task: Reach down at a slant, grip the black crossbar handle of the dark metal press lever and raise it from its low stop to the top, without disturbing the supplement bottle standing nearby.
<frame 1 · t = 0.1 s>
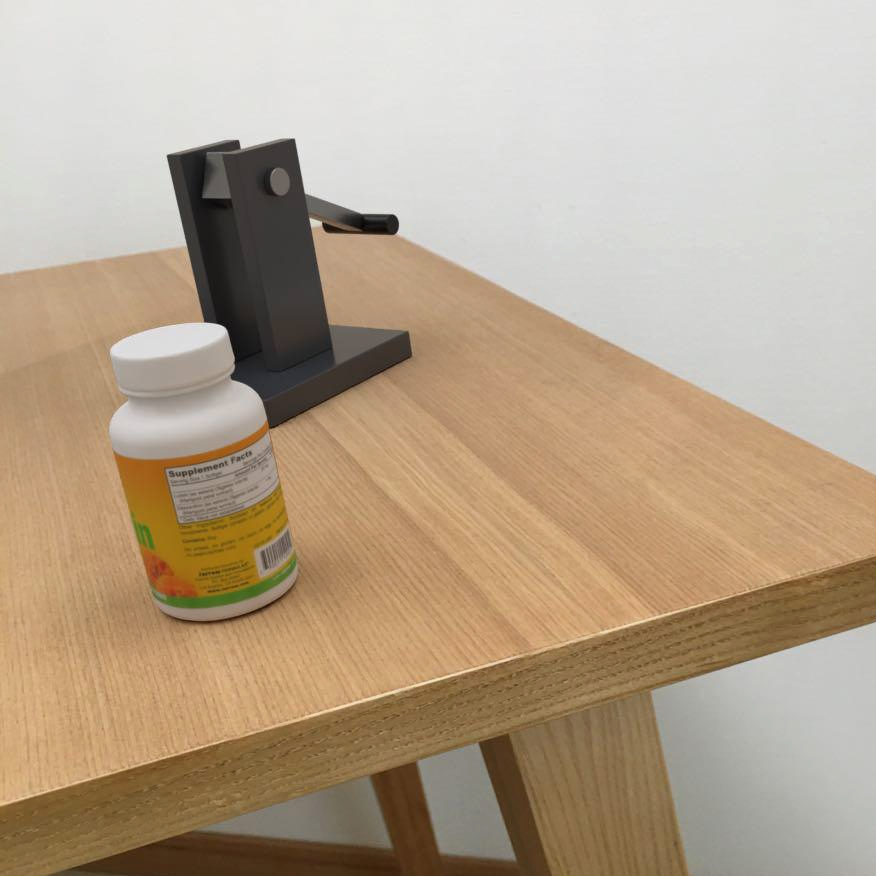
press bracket: (278, 381, 69), on the table
press lever: (298, 202, 68), point 9 cm above the table, hinge at -25.0°
supplement bottle: (229, 593, 46), on the table
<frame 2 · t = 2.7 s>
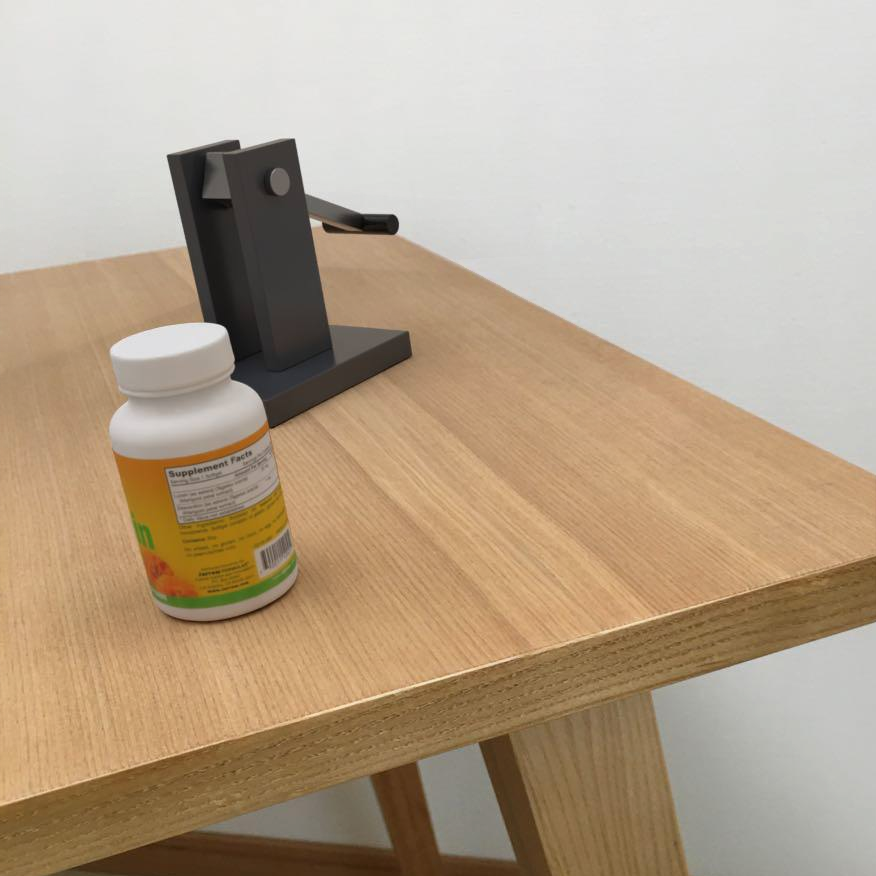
nothing on the table moved.
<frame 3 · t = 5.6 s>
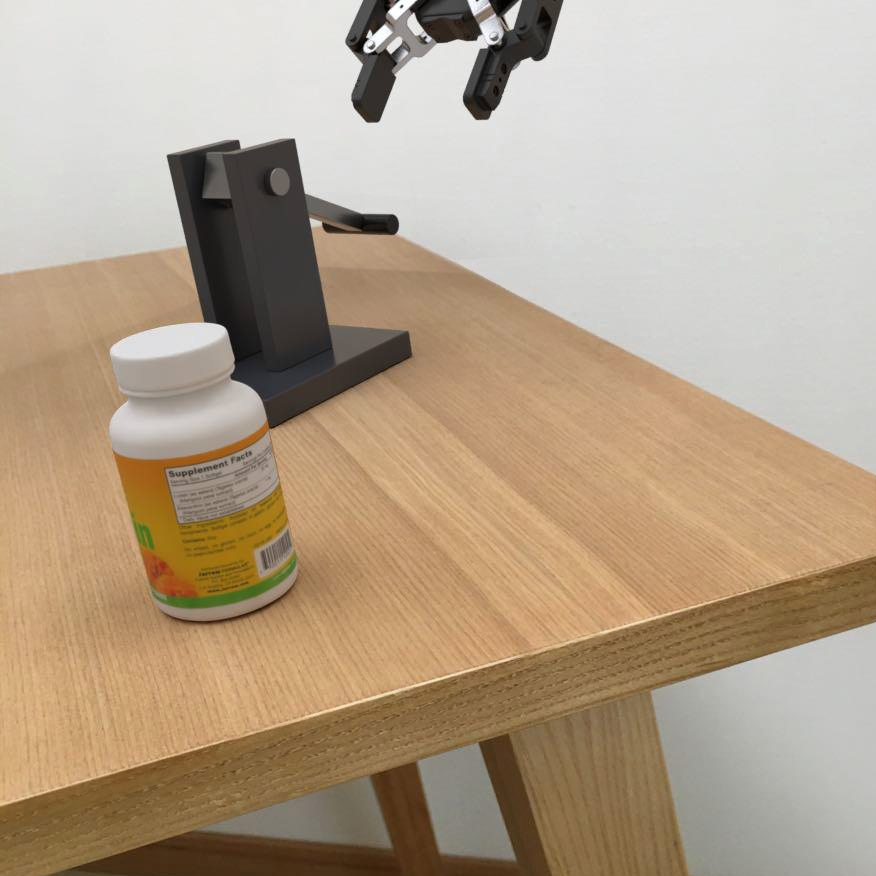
hand: (418, 113, 76), 12 cm above the table, tool tilted 45°, fingers open, 8 cm apart
nothing on the table moved.
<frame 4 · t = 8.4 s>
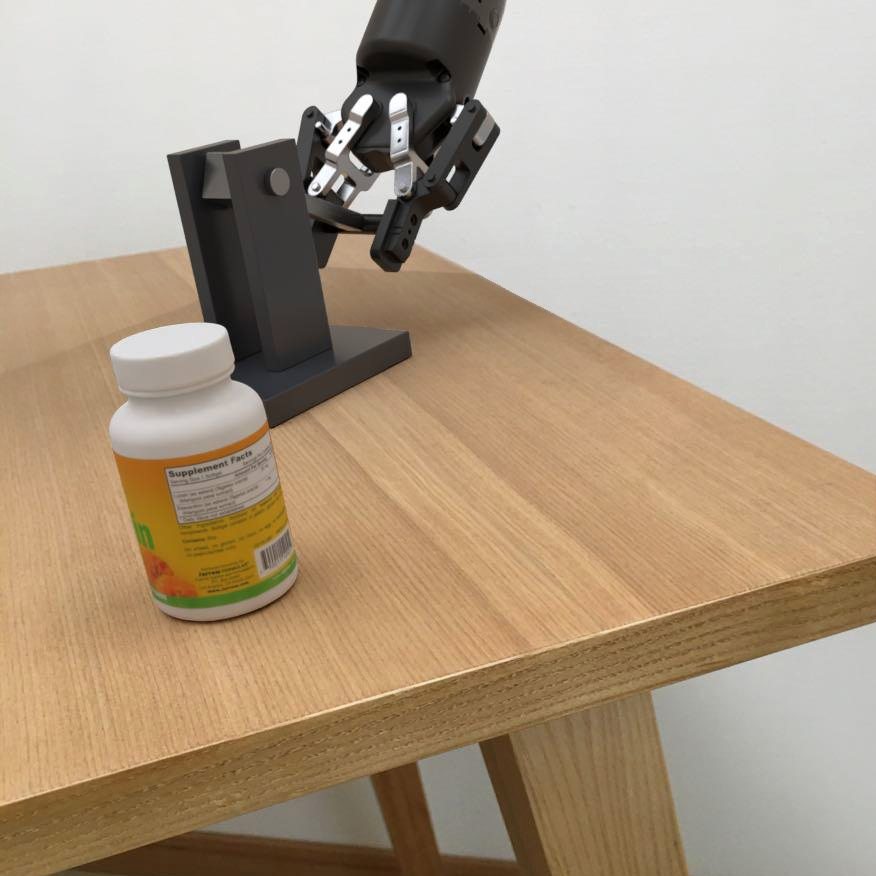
hand: (346, 262, 72), 5 cm above the table, tool tilted 45°, fingers closed on press lever, 5 cm apart
press lever: (298, 202, 68), point 9 cm above the table, hinge at -25.0°, touching gripper
everything else where it was.
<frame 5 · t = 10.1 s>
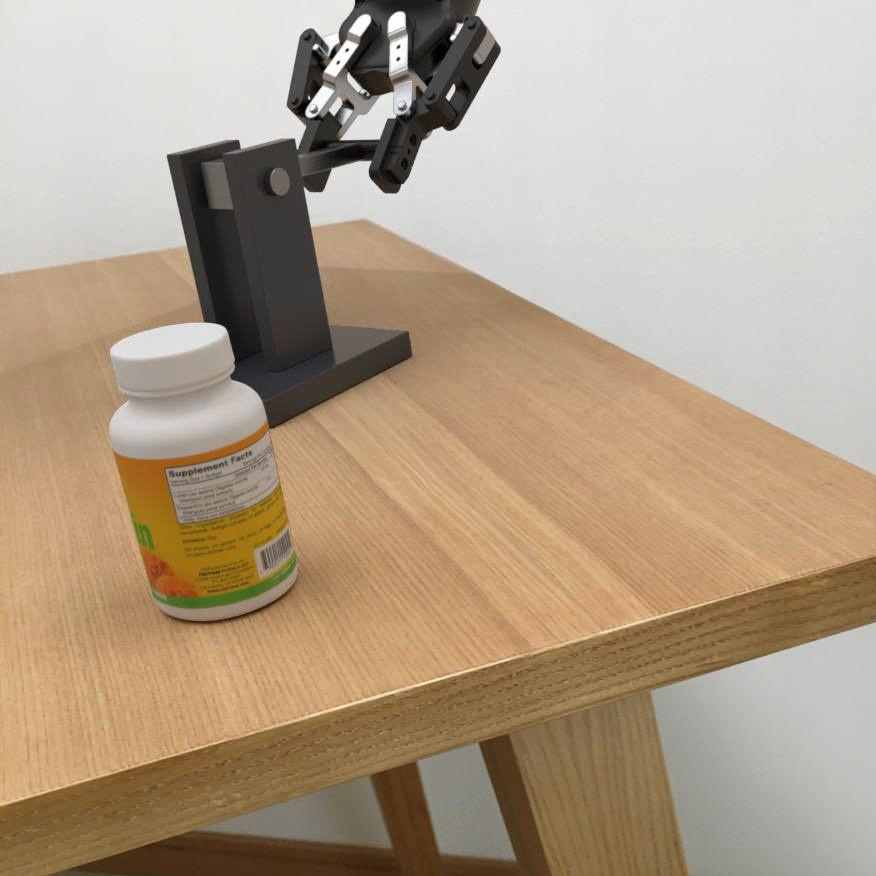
hand: (344, 184, 71), 9 cm above the table, tool tilted 45°, fingers closed on press lever, 5 cm apart
press lever: (296, 166, 68), point 11 cm above the table, hinge at -1.0°, touching gripper
everything else where it was.
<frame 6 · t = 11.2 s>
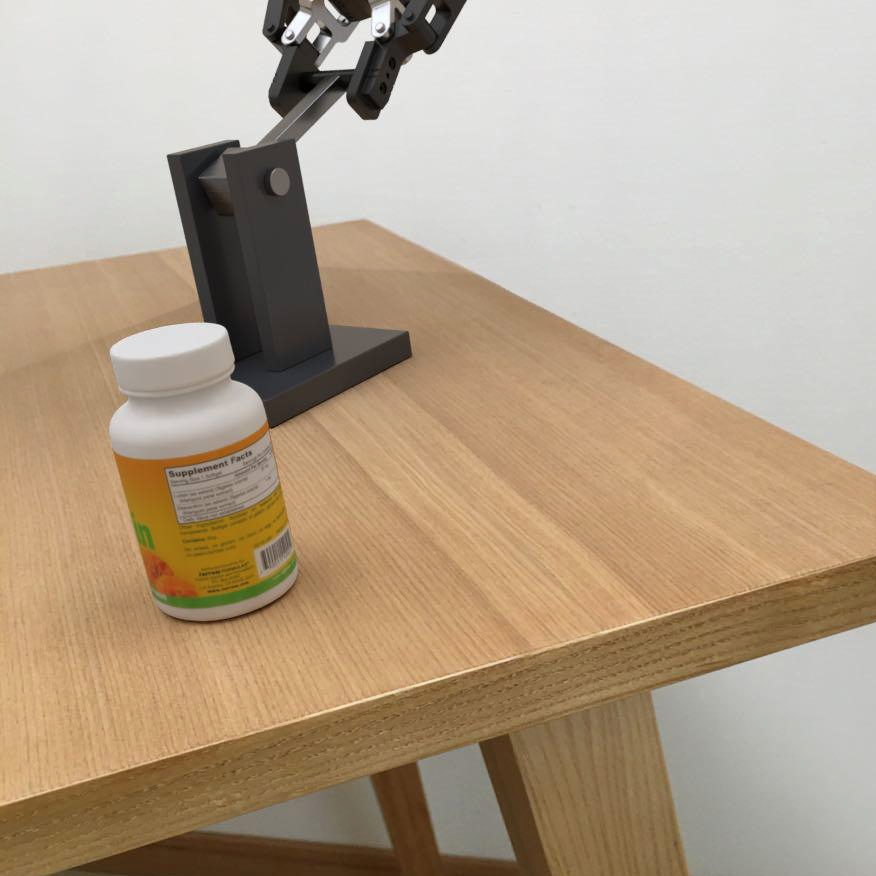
hand: (321, 111, 69), 13 cm above the table, tool tilted 45°, fingers closed on press lever, 5 cm apart
press lever: (286, 133, 67), point 13 cm above the table, hinge at 22.1°, touching gripper
everything else where it was.
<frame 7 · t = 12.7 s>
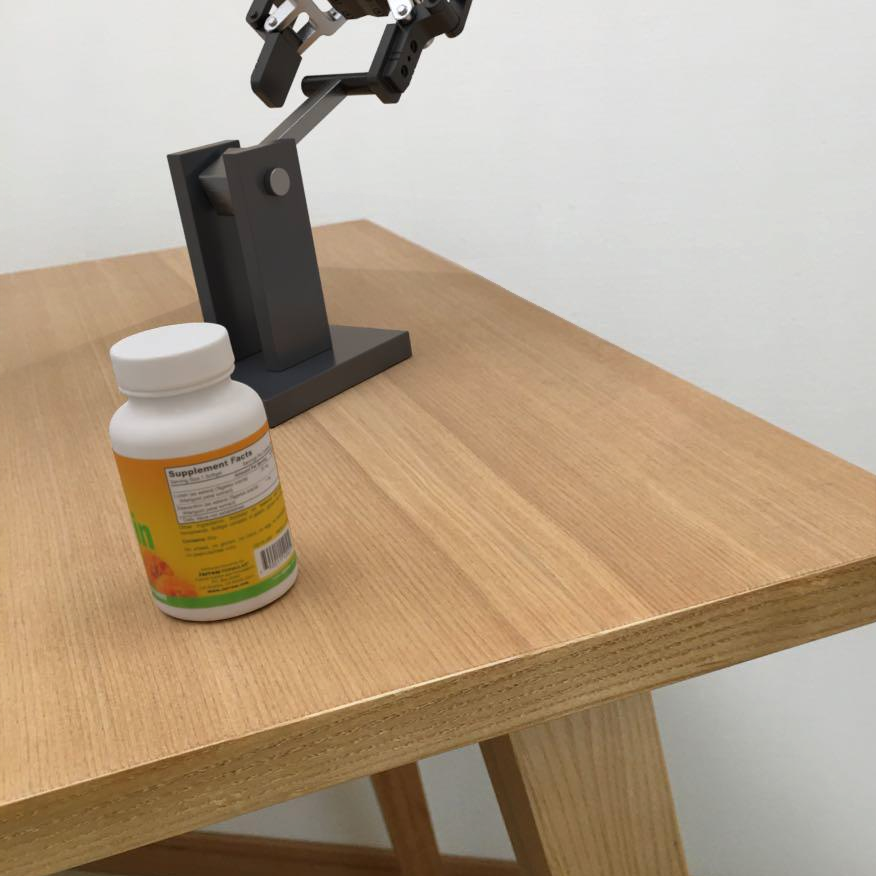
hand: (321, 97, 68), 14 cm above the table, tool tilted 45°, fingers open, 8 cm apart
press lever: (287, 135, 67), point 13 cm above the table, hinge at 20.8°
everything else where it was.
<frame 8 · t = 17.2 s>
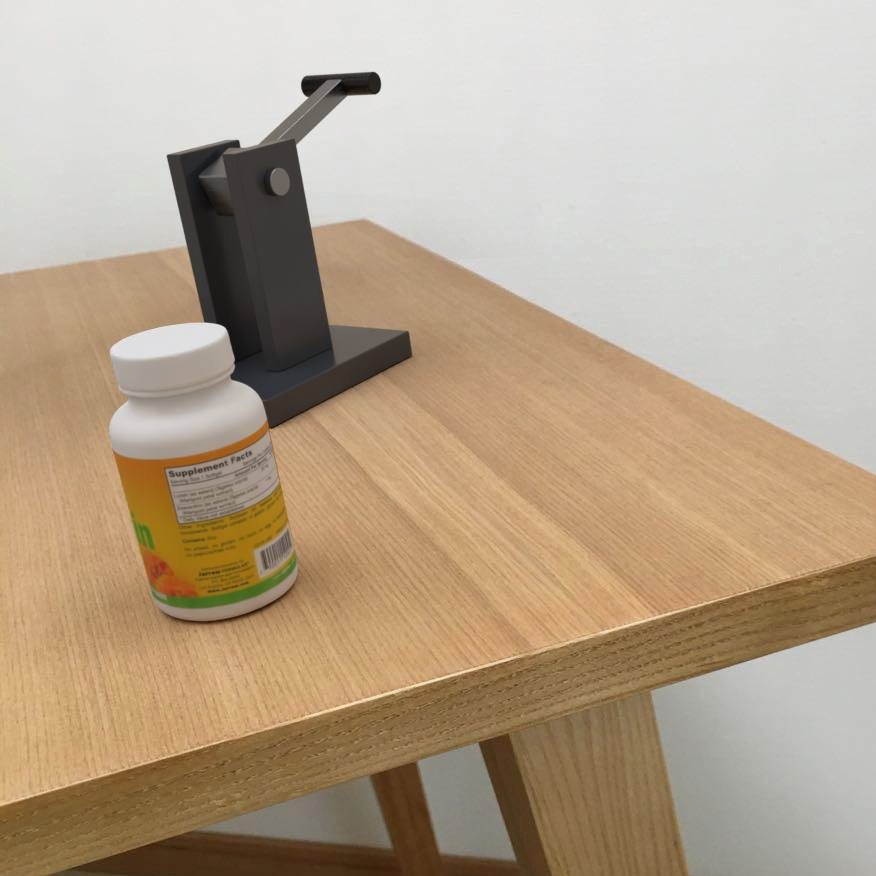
nothing on the table moved.
at the end: press lever at +21° (first picture: -25°); supplement bottle moved 0.2 cm from its start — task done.
